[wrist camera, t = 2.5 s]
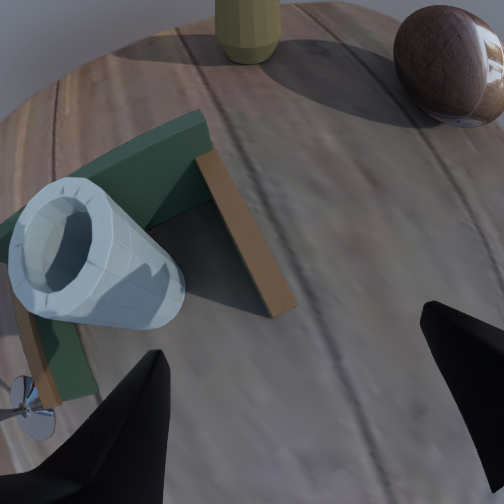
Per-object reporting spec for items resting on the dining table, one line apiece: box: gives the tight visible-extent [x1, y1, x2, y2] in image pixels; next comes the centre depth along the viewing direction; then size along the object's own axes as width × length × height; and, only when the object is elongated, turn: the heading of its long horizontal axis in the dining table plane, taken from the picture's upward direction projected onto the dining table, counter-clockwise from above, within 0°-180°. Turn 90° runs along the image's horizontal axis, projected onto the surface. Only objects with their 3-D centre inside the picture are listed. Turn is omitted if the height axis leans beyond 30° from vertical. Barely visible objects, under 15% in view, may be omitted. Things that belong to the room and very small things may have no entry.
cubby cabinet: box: [0, 109, 297, 409], centre depth 19 cm, size 13×19×10 cm
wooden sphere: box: [393, 5, 504, 128], centre depth 22 cm, size 15×15×15 cm
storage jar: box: [8, 177, 185, 330], centre depth 18 cm, size 7×7×13 cm
